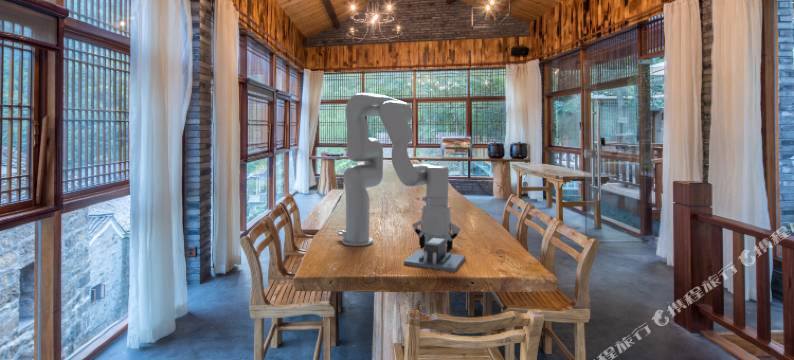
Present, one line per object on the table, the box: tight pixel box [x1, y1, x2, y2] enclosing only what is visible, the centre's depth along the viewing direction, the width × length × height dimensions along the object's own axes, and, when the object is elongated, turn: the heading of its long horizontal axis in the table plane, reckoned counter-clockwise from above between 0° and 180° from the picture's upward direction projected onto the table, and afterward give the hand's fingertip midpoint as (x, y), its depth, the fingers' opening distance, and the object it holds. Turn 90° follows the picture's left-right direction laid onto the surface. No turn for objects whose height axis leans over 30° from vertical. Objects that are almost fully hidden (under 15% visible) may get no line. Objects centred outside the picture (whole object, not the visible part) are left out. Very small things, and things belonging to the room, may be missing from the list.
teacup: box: [424, 228, 455, 246], centre depth 164 cm, size 14×11×8 cm
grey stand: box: [403, 249, 466, 273], centre depth 145 cm, size 18×15×5 cm
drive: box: [423, 238, 447, 263], centre depth 145 cm, size 5×10×6 cm, turn 159°
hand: (435, 249), depth 145 cm, fingers open, 9 cm apart
